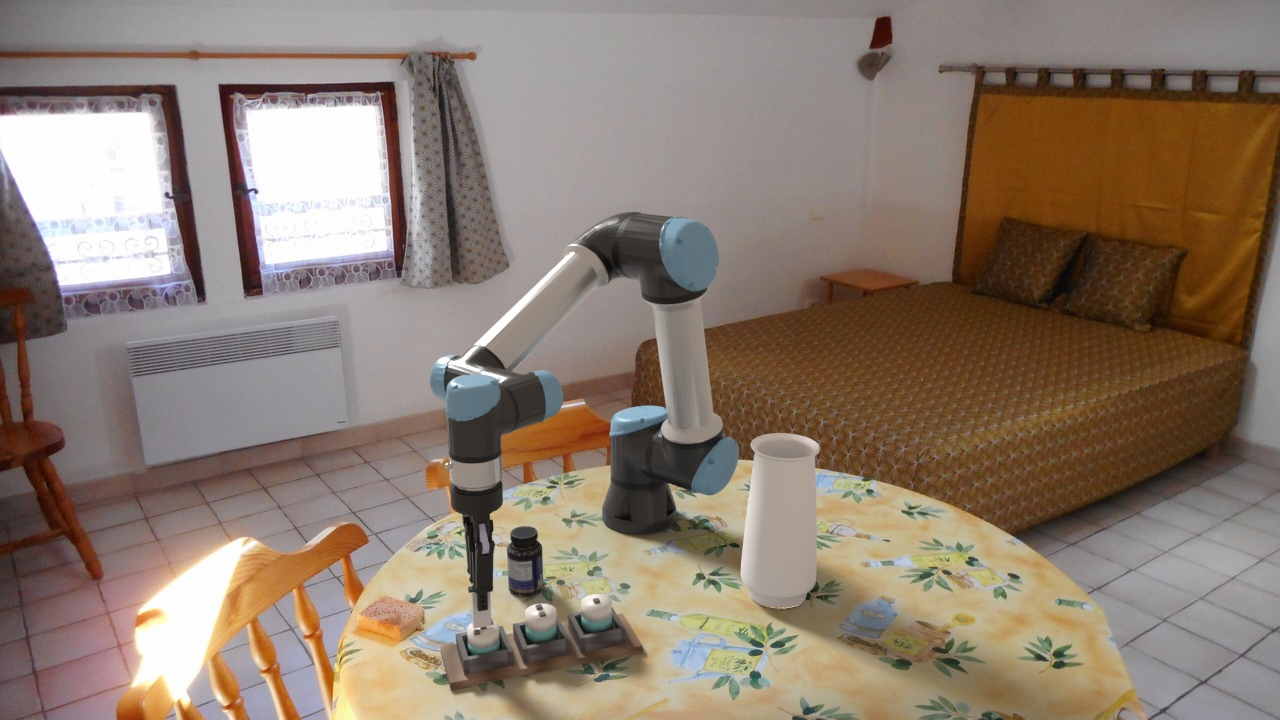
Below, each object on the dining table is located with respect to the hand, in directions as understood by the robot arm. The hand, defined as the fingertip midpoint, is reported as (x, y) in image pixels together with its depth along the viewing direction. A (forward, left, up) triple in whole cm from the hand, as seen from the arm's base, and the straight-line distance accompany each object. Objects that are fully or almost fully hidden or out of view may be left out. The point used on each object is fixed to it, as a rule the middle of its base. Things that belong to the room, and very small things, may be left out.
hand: (481, 624), depth 149 cm
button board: (-9, 0, -7) cm, 12 cm away
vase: (-52, -4, -7) cm, 53 cm away
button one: (-18, 0, -4) cm, 19 cm away
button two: (-9, 0, -4) cm, 10 cm away
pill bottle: (-11, -20, -7) cm, 24 cm away
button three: (0, 0, -5) cm, 5 cm away
